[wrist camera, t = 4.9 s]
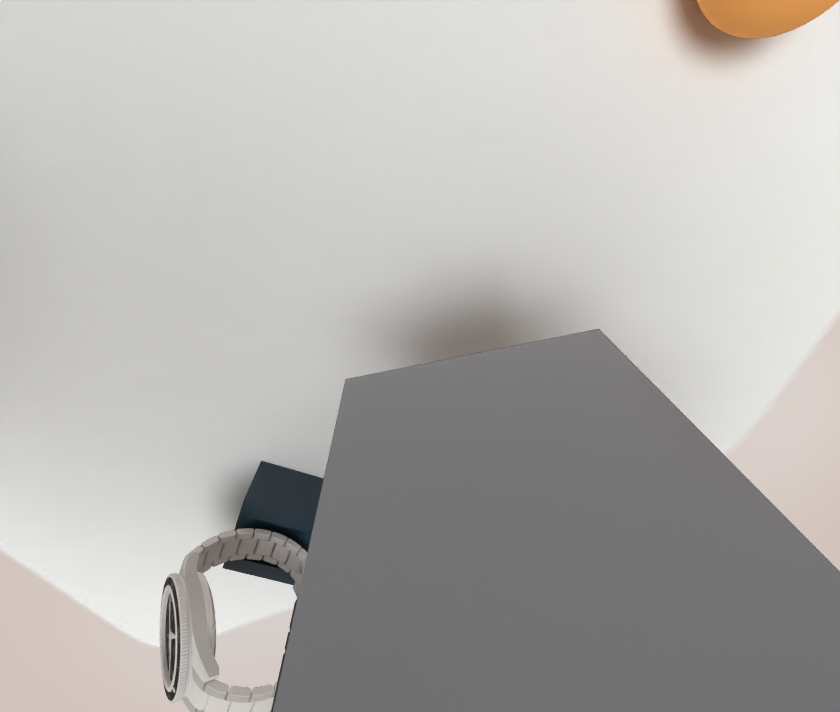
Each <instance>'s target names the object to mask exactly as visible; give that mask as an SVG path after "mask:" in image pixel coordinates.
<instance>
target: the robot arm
mask: <svg viewBox="0 0 840 712" xmlns="http://www.w3.org/2000/svg"><path fill="white" fill-rule="evenodd" d="M297 599H298V598H297ZM296 604H297V600H296V602H295V605H294V610H293V614H292V619H291V623H290V631H291V626H292V622H293V617H294V613H295V608H296ZM289 635H290V632H289V633H288V637H287V641H286V646H285V653H284V655H283V659H282V664H281V668H280V673H279V677H278V682H277V686H276V691H275V695H274V700H273V704H272V709H271V712H273V709H274V704H275V699H276V695H277V690H278V686H279V681H280V677H281V672H282V667H283V663H284V658H285V654H286V649H287V645H288V640H289Z"/></svg>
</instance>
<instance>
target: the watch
mask: <svg viewBox="0 0 840 712" xmlns="http://www.w3.org/2000/svg"><path fill="white" fill-rule="evenodd" d="M323 480H324V479H322V478H319V477H315V476H312V475H308V474H305V473H301V472H298V471H294V470H291V469H287V468H284V467H281V466H277V465H274V464H270V463H267V462H263V461H261V463H260V465H259V467H258V470H257V472H256V474H255V476H254V479H253V481H252V483H251V485H250V488H249V490H248V492H247V494H246V497H245V499H244V501H243V505H242V508H241V511H240V514H239V517H238V521H237V524H236V527H235V530H232V531H228V532H224V533H221V534H219V535H218V536H214V537H212V538H210V539H208V540H206V541H205V542H203V543H202V544H201V546H198V547H196V548H195V549H194V550H193V551H191V552H190V553H189V554H187V555H186V557H185V559H184V561H183V564H182V567H181V570H180V573H179V575H178V574H177V573H175V574H170V575H169V576H168V577H167V579H166V582H165V585H164V589H163V594H162V602H161V613H160V656H161V668H162V677H163V683H164V688H165V692H166V695H167V697H168V700H169V701H170V702H171V703H175V702H178V701H180V699H181V700H182V702H183V704H184V706H185V707H186V709H187V710H188V711H189V712H271V709H272V704H273V700H274V695H275V691H276V686H277V682H276V683H275V685H274V687H273V686H272V685H266V686H260V687H255V688H253V690H252V692H251V689H250V688H248V687H239V686H231V687H230V689H229V686H228V685H227V684H225V683H222V682H219V681H217V680H215V679H216V678H218V676H219V667H218V664H217V662H216V660H215V649H216V622H215V611H214V604H213V598H212V594H211V590H210V587H209V584H208V582H207V580H206V578H205V576H204V575H203V574H202V573H204V572H205V571H207V570H209V569H210V568H211V566H217V565H219V564H222V563H224V565H223V568H225V569H229V570H233V571H237V572H241V573H246V574H250V575H254V576H258V577H262V578H266V579H270V580H275V581H279V582H283V583H287V584H291V585H294V586H293V589H294V591H295V593H296V596H297V598H298V594H299V590H300V585H301V581H302V576H303V572H304V567H305V562H306V558H307V553H308V549H309V544H310V540H311V535H312V530H313V526H314V521H315V517H316V512H317V508H318V503H319V498H320V494H321V489H322V485H323ZM228 689H229V691H228ZM230 703H231V704H230ZM228 708H229V709H228Z"/></svg>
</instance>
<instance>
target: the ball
mask: <svg viewBox="0 0 840 712" xmlns="http://www.w3.org/2000/svg"><path fill="white" fill-rule="evenodd" d="M838 1H839V0H697V2H698V4H699V7H700V9H701V11H702V12H703V14H704V15H705V17H706V18H707V19H708V21H709V22H710V23H711V24H712V25H713V26H715V27H716V28H717V29H719V30H721V31H723V32H724V33H726V34H729V35H732V36H735V37H741V38H749V39H756V38H766V37H771V36H776V35H779V34H782V33H786V32H788V31H791V30H794V29H796V28H798V27H800V26H802V25H804V24H806V23H808V22H810V21H811V20H813V19H815V18H816V17H818V16H820V15H821V14H822V13H824V12H825V11H826V10H828V9H829V8H830V7H832V6H833V5H834V4H836V3H837V2H838Z"/></svg>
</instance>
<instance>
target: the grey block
mask: <svg viewBox="0 0 840 712" xmlns="http://www.w3.org/2000/svg"><path fill="white" fill-rule="evenodd" d="M273 712H840V571H839V570H838V569H837V568H836V567H835V566H834V565H833V564H832V563H831V562H830V561H829V560H828V559H827V558H826V557H825V556H824V555H823V554H822V553H821V552H820V551H819V550H818V549H817V548H816V547H815V546H814V545H813V544H812V543H811V542H810V541H809V540H808V539H807V538H806V537H805V536H804V535H803V534H802V533H801V532H800V531H799V530H798V529H797V528H796V527H795V526H794V525H793V524H792V523H791V522H790V521H789V520H788V519H787V518H786V517H785V516H784V515H783V514H782V513H781V512H780V511H779V510H778V509H777V508H776V507H775V506H774V505H773V504H772V503H771V502H770V501H769V500H768V499H767V498H766V497H765V496H764V495H763V494H762V493H761V492H760V491H759V490H758V489H757V488H756V487H755V486H754V485H753V484H752V483H751V482H750V481H749V480H748V479H747V478H746V477H745V476H744V475H743V474H742V473H741V472H740V471H739V470H738V469H737V468H736V467H735V466H734V465H733V464H732V462H730V461H729V459H728V458H727V457H726V456H725V455H724V454H723V453H722V452H721V451H720V450H719V449H718V448H717V447H716V446H715V445H714V444H713V443H712V442H711V441H710V440H709V439H708V438H707V437H706V436H705V435H704V434H703V433H702V432H701V431H700V430H699V429H698V428H697V427H696V426H695V425H694V424H693V423H692V422H691V421H690V420H689V419H688V418H687V417H686V416H685V415H684V414H683V413H682V412H681V411H680V410H679V409H678V408H677V407H676V406H675V405H674V404H673V403H672V402H671V401H670V400H669V399H668V398H667V397H666V396H665V395H664V394H663V393H662V392H661V391H660V390H659V389H658V388H657V387H656V386H655V385H654V384H653V383H652V382H651V381H650V380H649V379H648V378H647V377H646V376H645V375H644V374H643V373H642V372H641V371H640V370H639V369H638V368H637V367H636V366H635V365H634V364H633V363H632V362H631V361H630V360H629V359H628V358H627V357H626V356H625V355H624V354H623V353H622V352H621V351H620V350H619V349H618V348H617V347H616V346H615V345H614V344H613V343H612V342H611V341H610V340H609V339H608V338H607V337H606V336H605V335H604V334H603V333H602V332H601V331H600V330H599V329H596V330H591V331H586V332H581V333H576V334H571V335H566V336H560V337H555V338H550V339H545V340H540V341H535V342H530V343H525V344H520V345H515V346H510V347H505V348H500V349H495V350H490V351H485V352H480V353H475V354H470V355H465V356H460V357H455V358H450V359H445V360H440V361H435V362H430V363H425V364H420V365H415V366H410V367H405V368H400V369H395V370H390V371H385V372H380V373H375V374H370V375H364V376H359V377H354V378H349V379H346V380H345V384H344V389H343V393H342V398H341V403H340V407H339V412H338V416H337V421H336V425H335V430H334V435H333V439H332V444H331V448H330V453H329V457H328V462H327V467H326V471H325V476H324V480H323V485H322V489H321V494H320V498H319V503H318V508H317V512H316V517H315V521H314V526H313V530H312V535H311V540H310V544H309V549H308V553H307V558H306V562H305V567H304V572H303V576H302V581H301V585H300V590H299V594H298V599H297V604H296V608H295V613H294V617H293V622H292V626H291V631H290V635H289V640H288V645H287V649H286V654H285V658H284V663H283V667H282V672H281V677H280V681H279V686H278V690H277V695H276V699H275V704H274V709H273Z"/></svg>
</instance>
